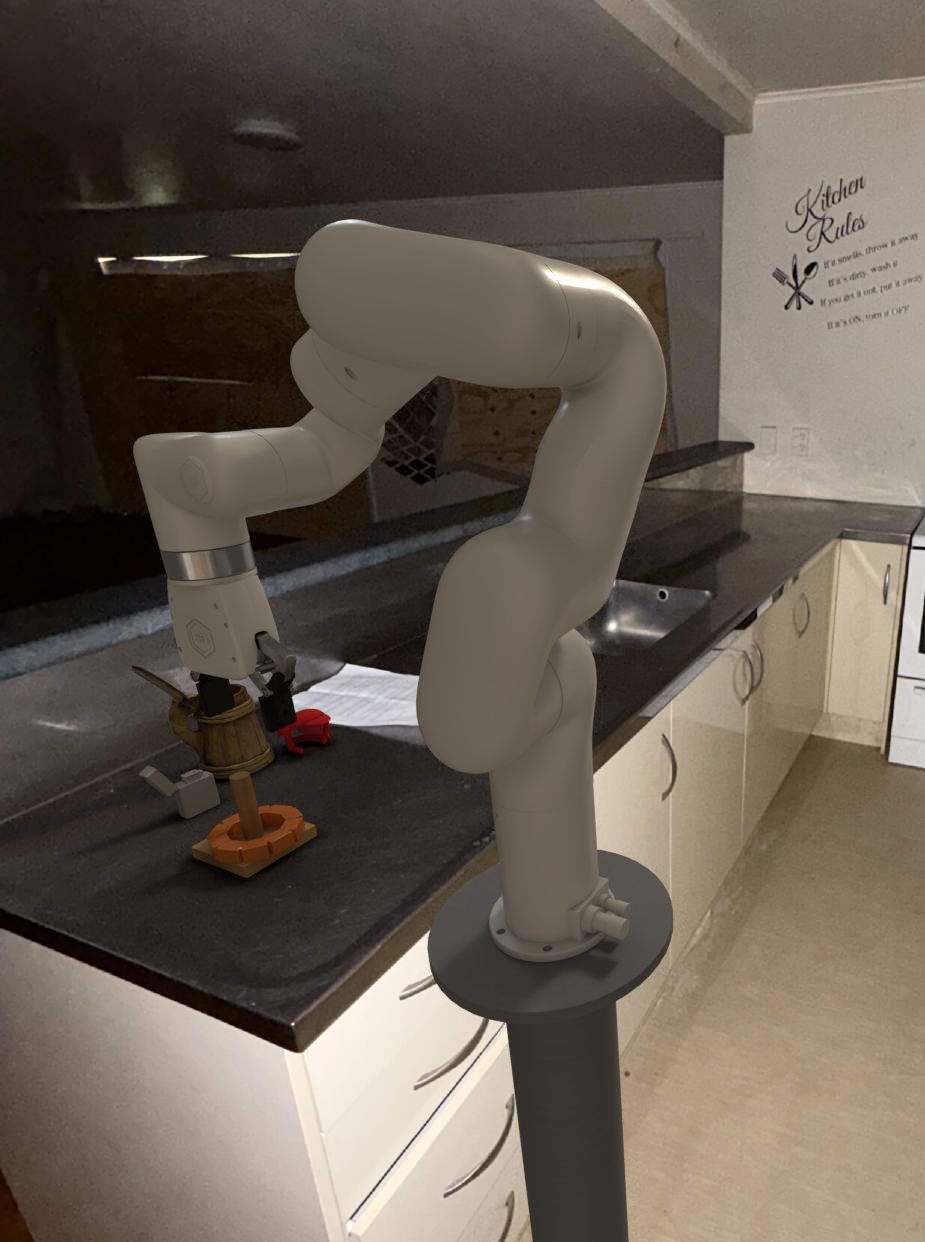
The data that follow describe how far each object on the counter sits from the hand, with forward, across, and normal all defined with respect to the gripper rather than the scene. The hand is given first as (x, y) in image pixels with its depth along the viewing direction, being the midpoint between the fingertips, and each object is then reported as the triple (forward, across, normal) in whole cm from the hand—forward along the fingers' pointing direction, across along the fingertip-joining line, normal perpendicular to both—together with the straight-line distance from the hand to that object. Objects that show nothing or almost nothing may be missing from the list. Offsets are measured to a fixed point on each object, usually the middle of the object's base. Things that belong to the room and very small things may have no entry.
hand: (250, 719), depth 80 cm
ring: (+16, -3, 0) cm, 16 cm away
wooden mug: (+17, -26, +10) cm, 32 cm away
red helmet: (+17, -21, +20) cm, 33 cm away
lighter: (+17, -19, +1) cm, 25 cm away
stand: (+17, -5, 0) cm, 18 cm away
